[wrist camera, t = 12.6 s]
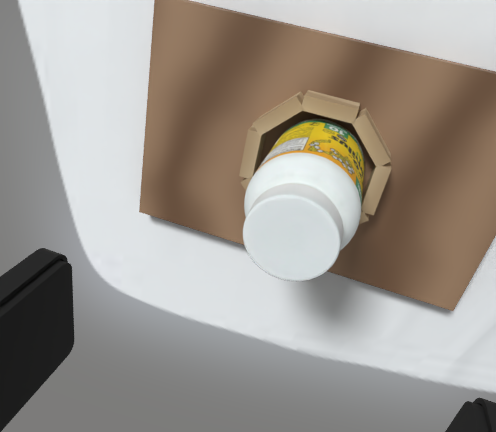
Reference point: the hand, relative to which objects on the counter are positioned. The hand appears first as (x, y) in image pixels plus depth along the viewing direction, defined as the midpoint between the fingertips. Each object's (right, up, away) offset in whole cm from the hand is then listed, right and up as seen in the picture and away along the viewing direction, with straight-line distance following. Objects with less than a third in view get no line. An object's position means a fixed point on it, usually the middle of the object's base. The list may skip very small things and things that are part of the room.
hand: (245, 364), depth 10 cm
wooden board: (+4, +7, +17) cm, 19 cm away
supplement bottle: (+4, +7, +16) cm, 18 cm away
